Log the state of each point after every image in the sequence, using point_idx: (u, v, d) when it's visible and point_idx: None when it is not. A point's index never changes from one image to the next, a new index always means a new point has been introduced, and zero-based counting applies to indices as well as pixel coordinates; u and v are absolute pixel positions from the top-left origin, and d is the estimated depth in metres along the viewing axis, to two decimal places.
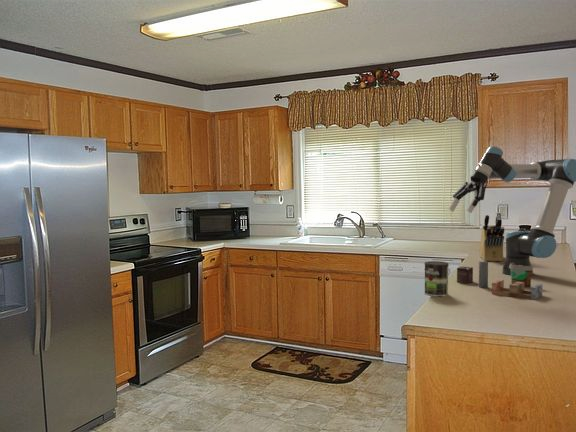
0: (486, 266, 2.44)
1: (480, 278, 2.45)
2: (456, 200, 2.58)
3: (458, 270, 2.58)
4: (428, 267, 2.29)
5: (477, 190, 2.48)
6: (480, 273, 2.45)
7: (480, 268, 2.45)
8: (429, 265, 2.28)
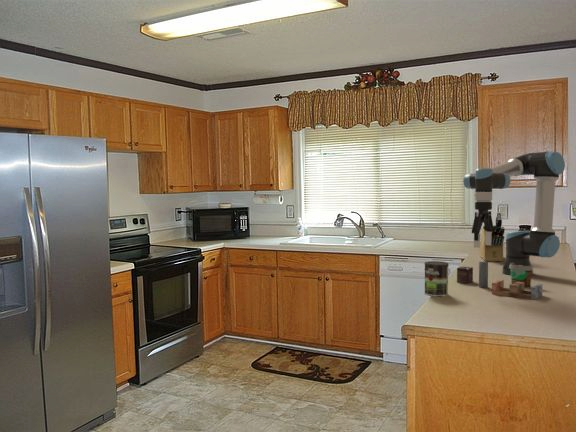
0: (486, 266, 2.44)
1: (480, 278, 2.45)
2: (487, 233, 2.50)
3: (458, 270, 2.58)
4: (428, 267, 2.29)
5: None
6: (480, 273, 2.45)
7: (480, 268, 2.45)
8: (429, 265, 2.28)
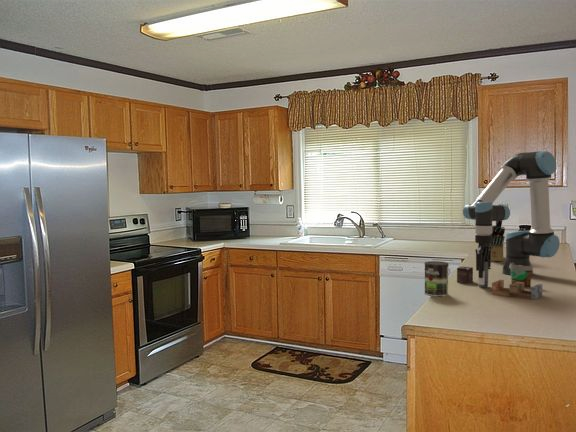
0: (486, 266, 2.44)
1: None
2: None
3: (458, 270, 2.58)
4: (428, 267, 2.29)
5: None
6: None
7: None
8: (429, 265, 2.28)
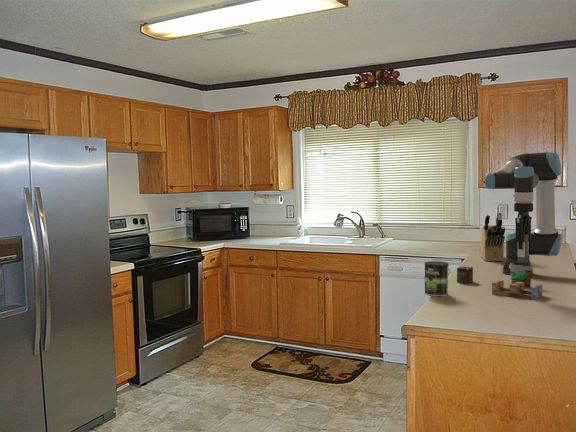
0: (526, 239, 2.24)
1: None
2: None
3: (458, 270, 2.58)
4: (428, 267, 2.29)
5: None
6: None
7: None
8: (429, 265, 2.28)
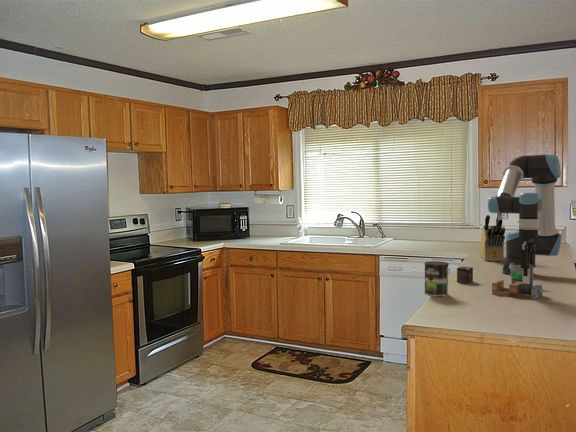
0: (531, 269, 2.23)
1: None
2: None
3: (458, 270, 2.58)
4: (428, 267, 2.29)
5: None
6: None
7: None
8: (429, 265, 2.28)
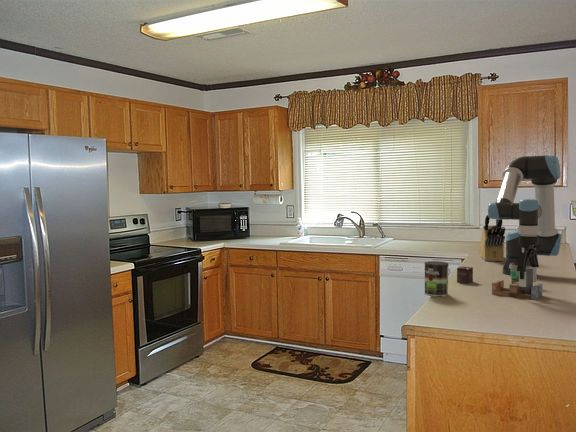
0: (531, 273, 2.23)
1: None
2: None
3: (458, 270, 2.58)
4: (428, 267, 2.29)
5: None
6: None
7: None
8: (429, 265, 2.28)
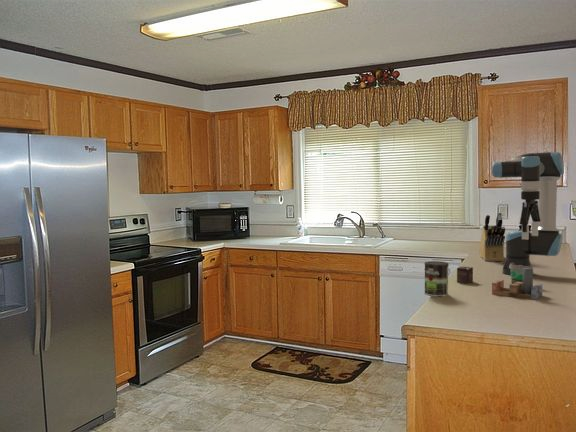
0: (531, 273, 2.23)
1: (524, 286, 2.24)
2: (533, 223, 2.40)
3: (458, 270, 2.58)
4: (428, 267, 2.29)
5: None
6: (524, 281, 2.24)
7: (524, 275, 2.24)
8: (429, 265, 2.28)
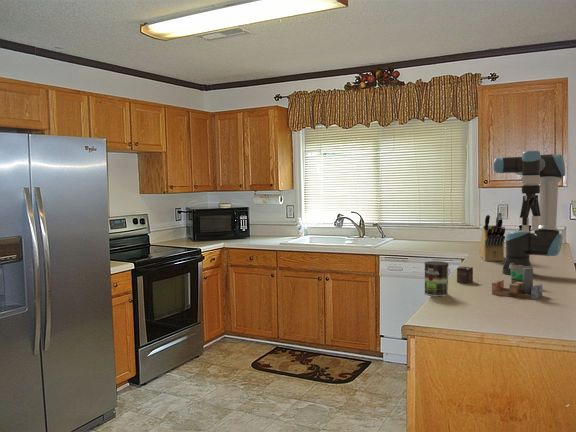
0: (531, 273, 2.23)
1: (524, 286, 2.24)
2: (534, 218, 2.44)
3: (458, 270, 2.58)
4: (428, 267, 2.29)
5: None
6: (524, 281, 2.24)
7: (524, 275, 2.24)
8: (429, 265, 2.28)
